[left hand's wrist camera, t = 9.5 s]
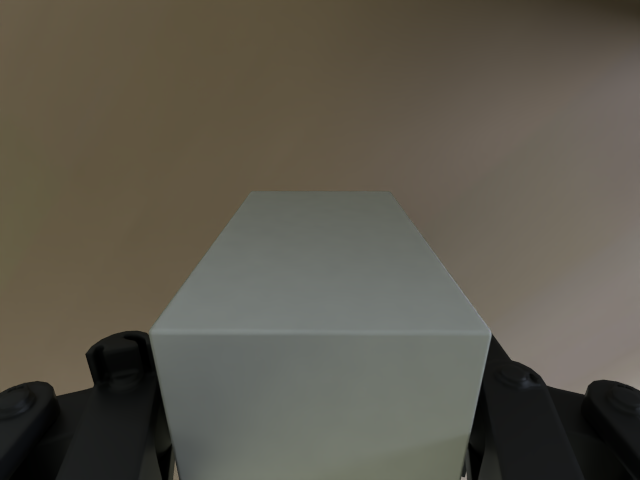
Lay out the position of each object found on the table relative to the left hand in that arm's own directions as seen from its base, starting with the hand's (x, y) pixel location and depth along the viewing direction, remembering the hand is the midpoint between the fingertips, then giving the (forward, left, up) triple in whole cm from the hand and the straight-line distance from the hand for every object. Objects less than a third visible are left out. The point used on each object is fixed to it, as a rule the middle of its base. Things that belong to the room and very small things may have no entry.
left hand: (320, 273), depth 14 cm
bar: (-3, +10, -1) cm, 10 cm away
